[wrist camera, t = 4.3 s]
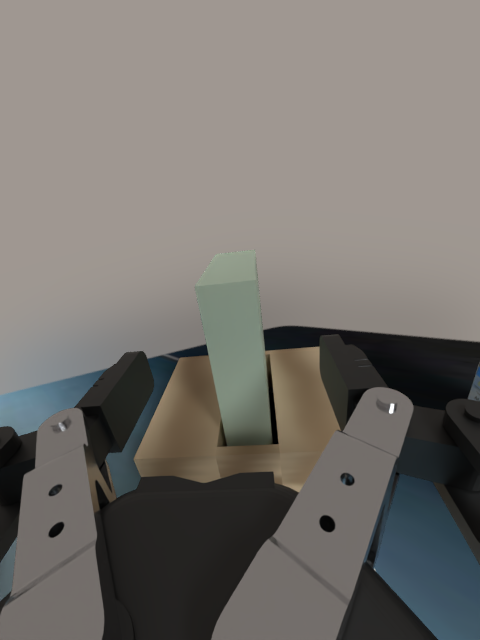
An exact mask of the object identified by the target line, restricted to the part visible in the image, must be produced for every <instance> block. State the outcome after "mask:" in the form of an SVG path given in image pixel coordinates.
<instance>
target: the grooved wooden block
mask: <svg viewBox="0 0 480 640" xmlns="http://www.w3.org/2000/svg"><path fill="white" fill-rule="evenodd" d="M319 355H320V347H309V348H297V349H284V350H272V351H265V357H266V367H267V377H268V387H269V388H273V396H274V406H275V416H276V426H277V436H278V444H271V445H249V446H227V442H226V437H225V433H224V428H223V423H222V418H221V413H220V408H219V403H218V398H217V393H216V388H215V384H214V379H213V374H212V369H211V364H210V359H209V356H197V357H184V358H180V359H179V361H178V363H177V366H176V368H175V370H174V372H173V374H172V376H171V379H170V381H169V383H168V385H167V387H166V390H165V392H164V394H163V396H162V398H161V400H160V403H159V405H158V407H157V409H156V411H155V413H154V416H153V418H152V420H151V422H150V424H149V427H148V429H147V431H146V433H145V435H144V437H143V440H142V442H141V444H140V446H139V448H138V450H137V453H136V455H135V457H134V462H135V464H136V466H137V469H138V471H139V473H140V476H141V477H150V476H177V477H181V478H185V479H189V480H193V481H197V482H201V483H207V482H210V481H214V480H217V479H221V478H224V477H227V476H231V475H234V474H238V473H247V472H271V471H273V472H274V481H275V483H277V484H281V485H284V486H286V487H289V488H291V489H293V490H295V491H297V492H300V490H301V489H302V487H303V485H304V483H305V482H306V480H307V478H308V476H309V475H310V473H311V471H312V470H313V468H314V466H315V464H316V463H317V461H318V459H319V458H320V456H321V454H322V452H323V451H324V449H325V447H326V446H327V444H328V442H329V440H330V439H331V437H332V435H333V434H334V432H335V431H336V430H340V427H339V424H338V422H337V419H336V416H335V414H334V411H333V408H332V406H331V403H330V400H329V398H328V395H327V392H326V390H325V387H324V384H323V382H322V379H321V375H320V366H319ZM340 431H341V430H340Z"/></svg>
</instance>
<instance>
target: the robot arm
mask: <svg viewBox="0 0 480 640" xmlns="http://www.w3.org/2000/svg"><path fill="white" fill-rule="evenodd" d="M319 366H320V375H321V379H322V382H323V384H324V387H325V390H326V392H327V395H328V398H329V400H330V403H331V406H332V408H333V411H334V414H335V416H336V419H337V422H338V424H339V427H340V430H341V431H340V430H336V431H335V432H334V434H333V435H332V437H331V439H330V440H329V442H328V444H327V446H326V447H325V449H324V451H323V452H322V454H321V456H320V458H319V459H318V461H317V463H316V464H315V466H314V468H313V470H312V471H311V473H310V475H309V476H308V478H307V480H306V482H305V483H304V485H303V487H302V489H301V490H300V492H297V491H295V490H293V489H291V488H289V487H286V486H284V485H281V484H277V483H275V481H274V472H273V471H271V472H247V473H238V474H234V475H231V476H227V477H224V478H221V479H217V480H214V481H210V482H207V483H201V482H197V481H193V480H189V479H185V478H181V477H177V476H150V477H141V480H140V482H139V485H138V487H137V489H136V490H133V491H131V492H128V493H126V494H124V495H122V496H120V497H118V498H116V494H115V490H114V486H113V482H112V478H111V474H110V470H109V466H108V463H107V461H106V459H105V458H106V456H107V455H108V453H116V452H122V450H123V448H124V446H125V444H126V442H127V440H128V438H129V437H130V435H131V433H132V431H133V429H134V427H135V425H136V423H137V421H138V419H139V417H140V415H141V413H142V411H143V409H144V407H145V405H146V403H147V401H148V400H149V398H150V396H151V394H152V392H153V388H154V379H153V376H152V373H151V370H150V367H149V363H148V360H147V357H146V355H145V353H144V352H143V351H137V352H127V353H125V354H124V355H123V356H122V357H121V359H120V360H119V361H118V362H117V363H116V364H114V365H113V366H112V367H110V368H109V369H107V370H106V371H105V372H104V373H103V374H102V375H101V376H100V378H99V380H97V381H96V382H95V384H94V385H93V387H91V388H90V390H89V391H88V392H87V393H86V394H85V395H84V397H83V398H82V399H81V400H80V401H79V403H78V404H77V405H76V406H75V407H74V408H70V409H66V410H63V411H60V412H58V413H56V414H54V415H52V416H51V417H49V418H48V419H47V420H46V421H45V422H43V423H42V425H41V426H40V427H39V429H38V431H35V432H31V433H28V434H25V435H21V436H18V435H17V433H16V432H15V430H14V429H13V428H12V427H8V426H7V427H0V562H1V560H2V559H3V557H4V556H5V554H6V553H7V551H8V550H9V548H10V546H11V545H12V543H13V542H14V540H15V539H16V537H17V545H16V555H15V565H14V575H13V585H12V591H11V592H10V593H9V594H8V595H7V596H6V597H4V598H3V599H2V600H1V601H0V640H438V639H437V638H436V637H435V636H434V635H433V633H432V632H431V631H430V630H429V629H428V628H427V627H426V626H425V625H424V624H423V623H422V621H421V620H420V619H419V618H418V617H417V616H416V615H415V614H414V613H413V612H412V611H411V609H410V608H409V607H408V606H407V605H406V604H405V603H404V602H403V601H402V600H401V598H400V597H399V596H398V595H397V594H396V593H395V592H394V591H393V590H392V589H391V588H390V586H389V585H388V584H387V583H386V582H385V581H384V580H383V579H382V578H381V577H380V576H379V574H378V573H377V572H376V571H375V570H374V567H375V564H376V560H377V557H378V553H379V550H380V546H381V542H382V538H383V534H384V530H385V526H386V522H387V518H388V515H389V511H390V508H391V505H392V501H393V498H394V494H395V491H396V487H397V484H398V480H399V477H400V474H404V475H408V476H412V477H416V478H420V479H424V480H428V481H432V482H433V483H434V485H435V487H436V488H437V490H438V492H439V494H440V495H441V497H442V499H443V501H444V503H445V504H446V506H447V508H448V510H449V511H450V513H451V515H452V517H453V519H454V520H455V522H456V524H457V526H458V527H459V529H460V531H461V533H462V534H463V536H464V538H465V540H466V542H467V543H468V545H469V547H470V549H471V550H472V552H473V554H474V556H475V557H476V559H477V561H478V563H479V565H480V402H479V401H475V400H470V399H455V400H452V401H450V402H448V404H447V405H446V409H445V411H444V410H437V409H431V408H425V407H419V406H415V405H413V404H412V402H411V401H410V399H409V398H408V397H406V396H405V395H404V394H402V393H400V392H398V391H396V390H393V389H390V388H388V386H387V385H386V383H385V382H384V380H383V379H382V378H381V376H380V375H379V373H378V372H377V371H376V369H375V368H374V366H372V364H371V362H370V361H369V360H368V358H367V357H366V355H365V354H364V352H363V351H362V350H360V349H359V348H357V347H356V346H354V345H345V344H344V342H343V341H342V339H341V337H340V336H339V335H338V334H336V335H325V336H320V355H319Z"/></svg>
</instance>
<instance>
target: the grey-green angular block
mask: <svg viewBox="0 0 480 640" xmlns="http://www.w3.org/2000/svg"><path fill="white" fill-rule="evenodd" d="M195 290H196V295H197V300H198V305H199V310H200V315H201V320H202V325H203V329H204V335H205V339H206V344H207V349H208V354H209V359H210V364H211V369H212V374H213V379H214V384H215V388H216V393H217V398H218V403H219V408H220V413H221V418H222V423H223V428H224V433H225V437H226V442H227V446H249V445H271V444H273V436H272V423H271V411H270V398H269V387H268V377H267V367H266V357H265V346H264V336H263V326H262V316H261V306H260V296H259V287H258V275H257V265H256V255H255V250H249V251H240V252H232V253H224V254H216V255H215V257H214V258H213V260H212V261H211V263H210V264H209V266H208V267H207V269H206V270H205V272H204V273H203V275H202V276H201V278H200V279H199V281H198V282H197V284H196V285H195Z"/></svg>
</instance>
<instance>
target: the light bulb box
mask: <svg viewBox="0 0 480 640" xmlns="http://www.w3.org/2000/svg"><path fill="white" fill-rule="evenodd" d="M468 399H470V400H475V401H479V402H480V363H479V366H478V369H477V372H476V375H475V378H474V381H473V385H472V388H471V391H470V394H469V397H468Z"/></svg>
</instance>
